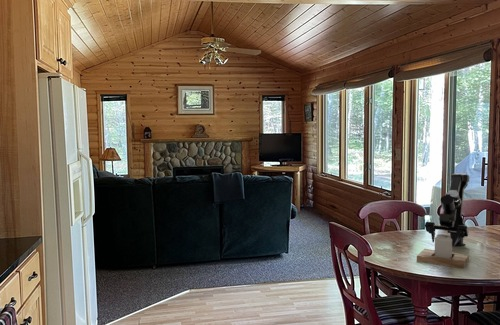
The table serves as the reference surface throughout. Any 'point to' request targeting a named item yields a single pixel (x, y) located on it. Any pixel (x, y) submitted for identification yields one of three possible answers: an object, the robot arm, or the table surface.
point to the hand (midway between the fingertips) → (443, 243)
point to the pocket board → (443, 259)
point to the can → (443, 246)
